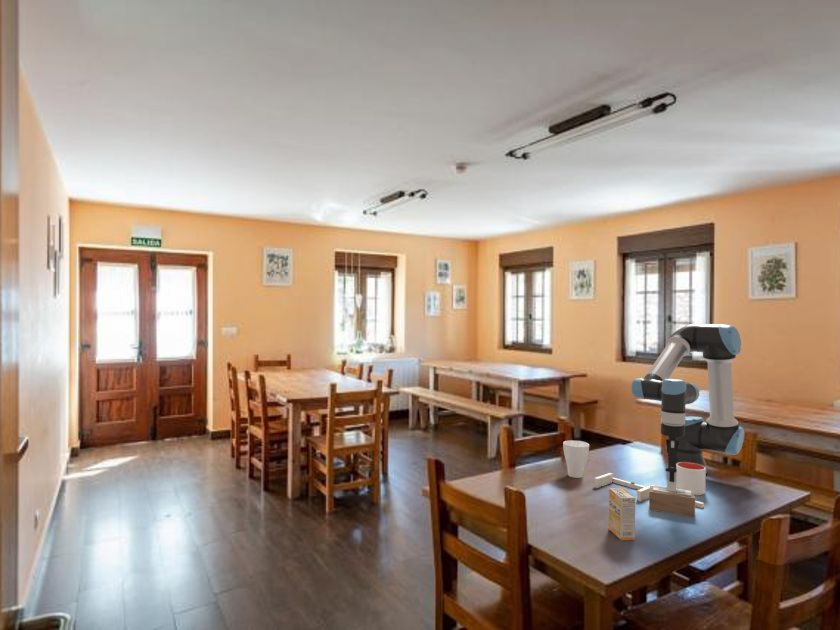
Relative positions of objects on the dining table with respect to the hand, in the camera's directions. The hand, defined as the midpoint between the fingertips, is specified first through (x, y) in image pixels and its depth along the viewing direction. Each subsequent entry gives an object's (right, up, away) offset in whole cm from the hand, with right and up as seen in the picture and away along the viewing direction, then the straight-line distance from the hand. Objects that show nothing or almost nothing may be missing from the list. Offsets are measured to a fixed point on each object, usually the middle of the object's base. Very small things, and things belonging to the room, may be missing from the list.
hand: (671, 485), depth 178 cm
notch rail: (-3, -9, +13) cm, 16 cm away
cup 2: (+16, -9, +19) cm, 26 cm away
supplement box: (-26, -9, -20) cm, 34 cm away
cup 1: (-22, -8, +36) cm, 43 cm away
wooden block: (0, -9, 0) cm, 9 cm away
